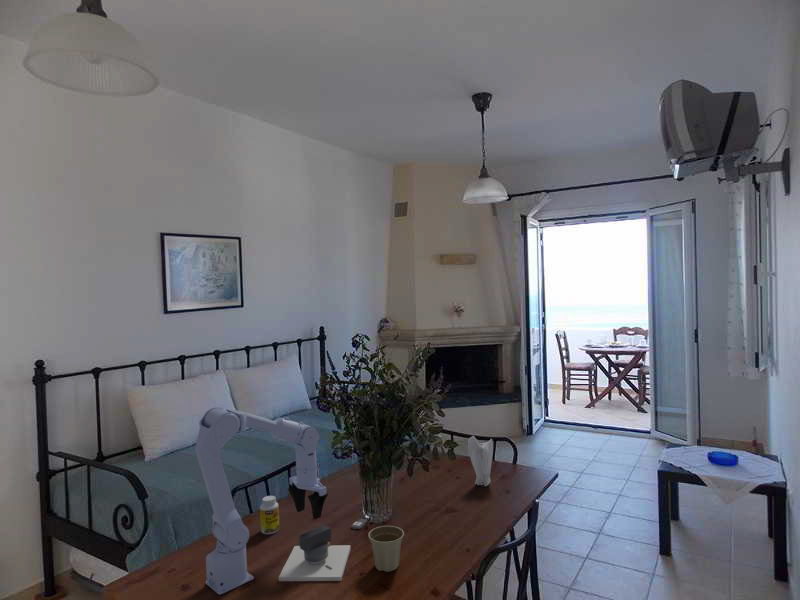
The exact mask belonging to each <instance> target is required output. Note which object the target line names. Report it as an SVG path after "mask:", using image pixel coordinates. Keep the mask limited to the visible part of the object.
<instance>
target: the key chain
mask: <svg viewBox="0 0 800 600" xmlns="http://www.w3.org/2000/svg"><path fill="white" fill-rule="evenodd" d="M366 522H367V523H368V520H367V519H365V518H360V519H358V520H356V521H354V523H352V524H351V525H350V527H349V528H350V529H351V528H352V529H353V530H356V529H360V528H361V529H362V528H364V526H366V524H367V523H366ZM365 523H366V524H365ZM361 529H360V530H361Z"/></svg>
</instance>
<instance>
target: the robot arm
mask: <svg viewBox="0 0 800 600" xmlns="http://www.w3.org/2000/svg"><path fill="white" fill-rule="evenodd" d="M198 423H199V430H198V435H197V439H196V443H195V448H194V449H195V450H194V451H195V454H196V459H197V462H198V465H199V468H200V472H201V475H202V479H203V481H204V485H205V488H206V492H207V495H208V498H209V501H210V505H211V508H212V512H213V514H212V516H211V518H212V527H211V528H212V529H211V530H212V531H211V533H212V535H213V537H214V538H216V545H215V547H216V548H215V549H214V550H213V551H211V552H210V553H208V554H206V557H205V572H206V581H205V585H207V586H208V587H209V588H210V589H212V590H213V591H214V592H215V593H216V594H217V595H222V594H226V593H227V592H229V591H231V590H234V589H236V588H239V587H240V586H242V585H245V584H246V583H248V582H250V581H253V580H254V579H255V576H253V575H252V574H251V573H249V572H248V565H247V563H248V561H247V543H248V542H249V538H250V530H249V528H248V527H247V526H246V525H245V524H244V522H243V520H242V518H241V516H240V514H239V513H238V510H237V508H236V507H235V503H234V500H233V496H232V493H231V490H230V489H231V488H230V486H229V483H228V478H227V475H226V473H225V469H224V465H223V462H222V458H221V456H220V452H221V450H222V448H223V447H224V445H226V444H227V443H228V442H229V441H230V440H231V439H232V438H233V437H234V436H235V435H236V434H237V433H238V432H243V431H244V430H246V429H247V428H249V429H254V430H257V431H263V432H266V433H267V432H268V433H269V434H270V436H271V437H272V438H273V439H275V440H278V441H284V442H286V443H290V444H294V447H295V450H294V451H295V468H296V470H295V471H296V475H293V476H291V477H289V479H288V481H289V485H291V487H289V488H288V489H287V491H288V493H289V494H290V496H291V498H292V500H293V504H294V506H295V509H296V512H297V513H300V512H303V511H305V509H306V508H305V507H306V505H305V504H306V492H307V491H311V492H313V493H311V494H309V495H307V499H308V500H309V503H310V506H311V512H312V518H313V519H314V520H317V519H318V520H319V519H320V518H321V517H322V512H323V507H324V504H325V501H326V499H327V497H328V496H329V492H328V491H327V486H324V485H323V484H322V483H321V479H320V477H318V469H317V468H318V467H317V465H318V464H317V444H318V443H319V441H320V434H319V433H318V430H317V429H316V427H314V426H310V425H308V424H305V423H304V422H303V421H298V422H297V421H294V420H291V418H290V417H288V416H283V417H277V418H275V419H274V420H272V419H268V418H265V417H262V416H259V415H256V414H252V413H251V412H250V413H249V412H245V411H243V410H236V409H230V408H225V409H223V408H221V407H219V406H218V407H217V406H216V407H215V406H214V407H211V408H210V409H208V410H207V411H206V412H205V413H204V414H203V416H202V418H201V419H200V420H199V422H198Z"/></svg>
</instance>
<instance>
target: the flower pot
mask: <svg viewBox="0 0 800 600" xmlns="http://www.w3.org/2000/svg"><path fill="white" fill-rule="evenodd" d="M367 534H368V539H369V540H370V543H371V547H372V553H373V559H374V565H375V568H376V570H378V571H379V572H382V571H383V572H386V573H387V572H392V571H393V572H394V571H395V570H396V569H398V567H399V565H400V556H401V555H400V554H401V548H402V547H401V545H402V542H403V538H404V536H405V531H404V530H403V529H402V528H401V527H398V526H394V525H381V526H378V527H375V528H372V529H371V530H370V531H369V532H368V533H367Z"/></svg>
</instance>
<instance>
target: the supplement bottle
mask: <svg viewBox="0 0 800 600" xmlns="http://www.w3.org/2000/svg"><path fill="white" fill-rule="evenodd" d="M261 501H262V504H260V507H259V512H260V513H259V515H260V516H259V517H260V519H259V520H260V521H259V522H260V532H261V534H263V535H273V534H275V533H278V531H279V529H280V513H279V511H280V510H279V503H278V502H277V499H276V496H275V495H267V496H264V497H263V498H262V499H261Z"/></svg>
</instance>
